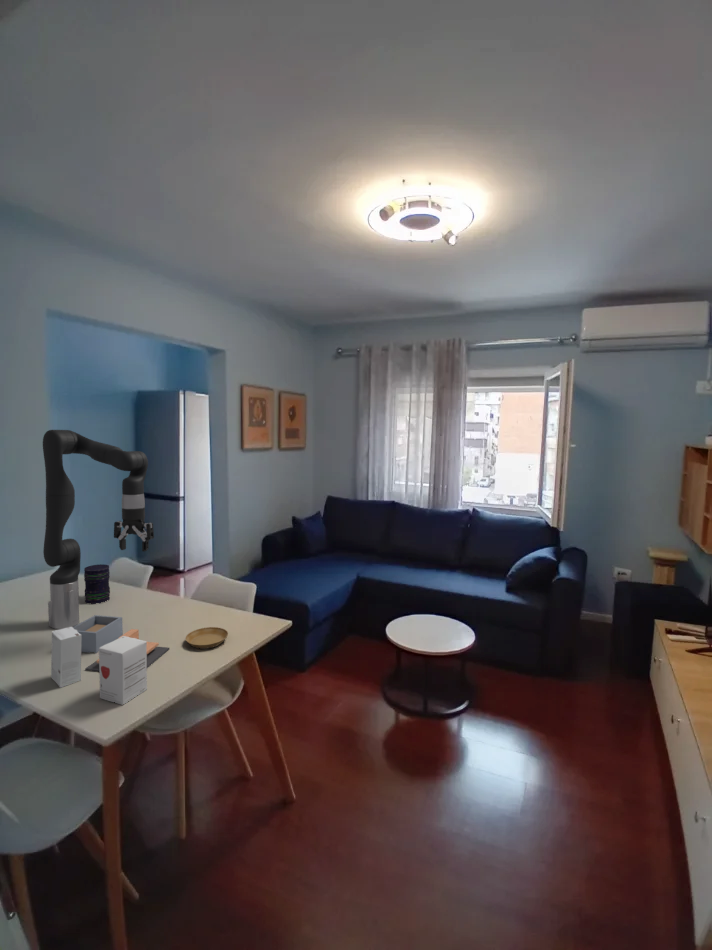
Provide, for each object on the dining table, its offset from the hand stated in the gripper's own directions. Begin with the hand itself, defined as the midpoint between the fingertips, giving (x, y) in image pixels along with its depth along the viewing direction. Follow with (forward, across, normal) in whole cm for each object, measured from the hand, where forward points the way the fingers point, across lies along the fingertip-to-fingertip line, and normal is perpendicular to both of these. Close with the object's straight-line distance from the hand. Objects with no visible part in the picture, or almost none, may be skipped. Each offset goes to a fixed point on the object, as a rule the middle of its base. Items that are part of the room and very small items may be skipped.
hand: (134, 550), depth 168 cm
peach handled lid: (+32, +9, -17) cm, 37 cm away
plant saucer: (+33, +28, 0) cm, 43 cm away
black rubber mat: (+32, +9, -17) cm, 37 cm away
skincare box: (+32, -2, -32) cm, 45 cm away
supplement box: (+32, +20, -36) cm, 52 cm away
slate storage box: (+32, -10, -8) cm, 35 cm away
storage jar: (+32, -38, +30) cm, 58 cm away
